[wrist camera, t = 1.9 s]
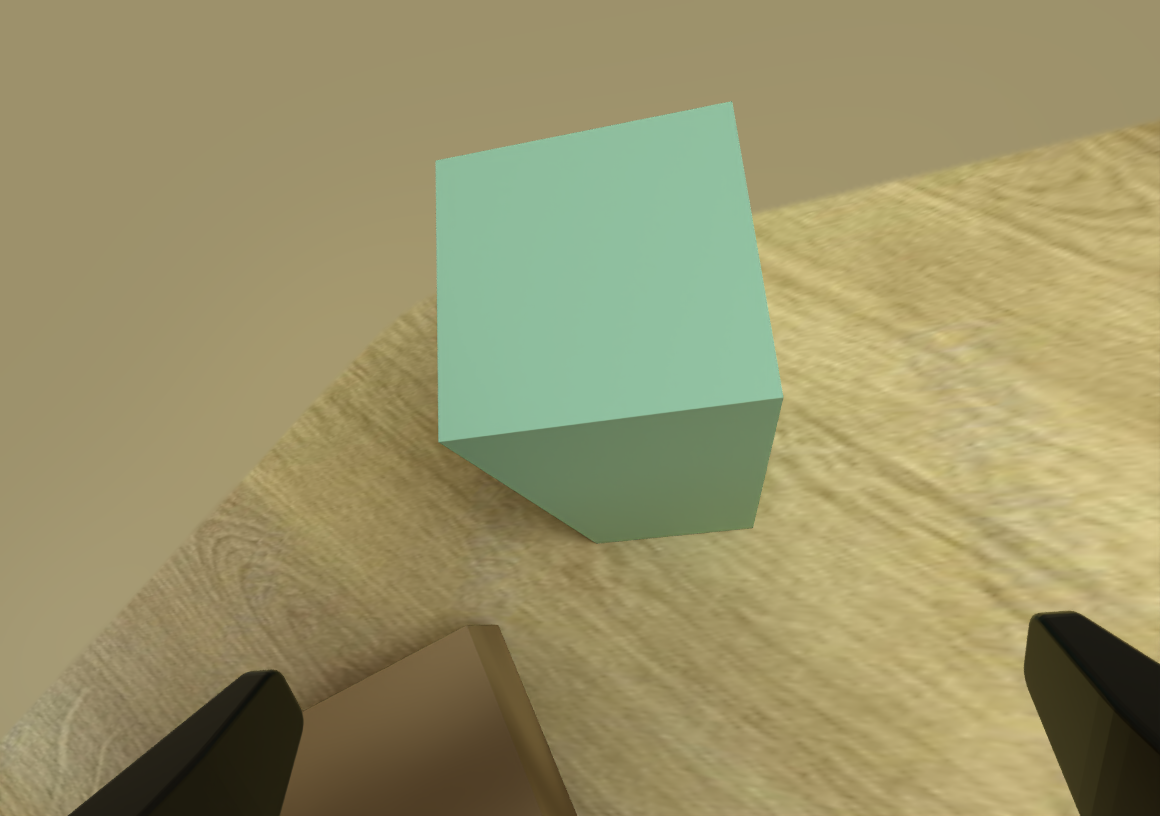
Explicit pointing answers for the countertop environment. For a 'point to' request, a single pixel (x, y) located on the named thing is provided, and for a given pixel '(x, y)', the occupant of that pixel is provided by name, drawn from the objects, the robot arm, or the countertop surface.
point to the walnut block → (429, 740)
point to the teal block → (609, 326)
